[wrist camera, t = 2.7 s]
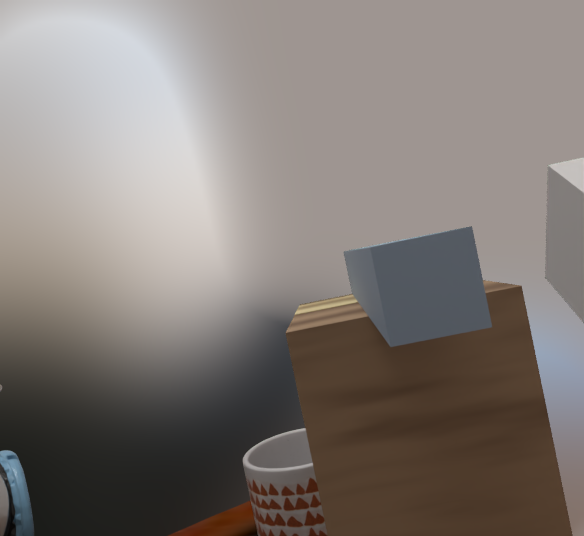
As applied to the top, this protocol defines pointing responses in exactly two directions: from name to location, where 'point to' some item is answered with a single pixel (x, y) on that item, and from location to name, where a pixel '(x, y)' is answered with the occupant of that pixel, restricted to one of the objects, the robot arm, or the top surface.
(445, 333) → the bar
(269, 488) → the planter
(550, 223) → the robot arm
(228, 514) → the top surface
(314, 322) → the stand
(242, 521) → the top surface
